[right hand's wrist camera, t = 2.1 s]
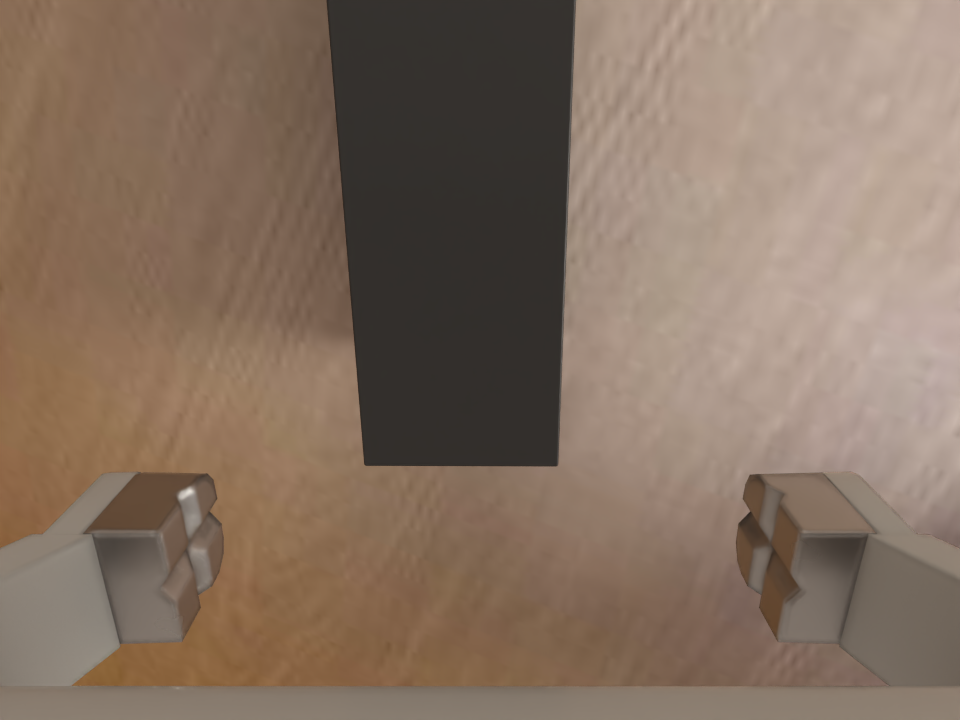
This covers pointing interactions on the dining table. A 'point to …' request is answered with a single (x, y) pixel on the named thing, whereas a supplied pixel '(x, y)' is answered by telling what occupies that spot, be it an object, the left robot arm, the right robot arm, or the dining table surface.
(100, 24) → the dining table surface
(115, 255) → the dining table surface
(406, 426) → the box
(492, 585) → the dining table surface
